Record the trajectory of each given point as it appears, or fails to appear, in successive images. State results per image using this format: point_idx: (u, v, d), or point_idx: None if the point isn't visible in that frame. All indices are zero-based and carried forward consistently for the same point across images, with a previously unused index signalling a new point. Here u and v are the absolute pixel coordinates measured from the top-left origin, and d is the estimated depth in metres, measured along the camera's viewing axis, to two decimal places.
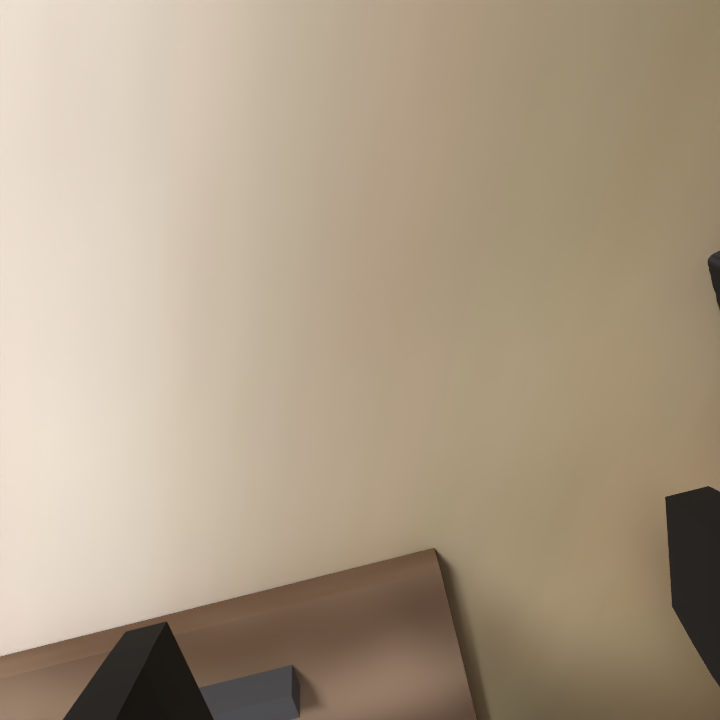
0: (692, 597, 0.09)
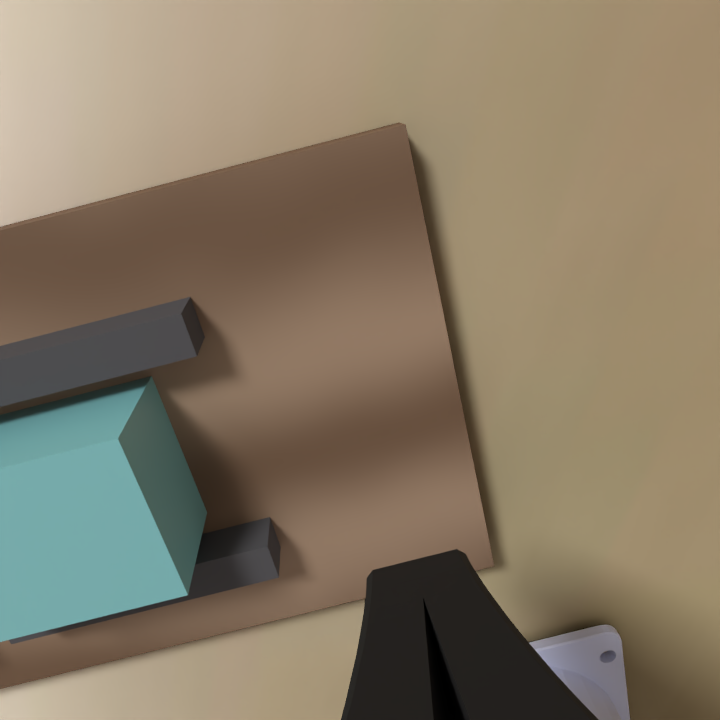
0: None
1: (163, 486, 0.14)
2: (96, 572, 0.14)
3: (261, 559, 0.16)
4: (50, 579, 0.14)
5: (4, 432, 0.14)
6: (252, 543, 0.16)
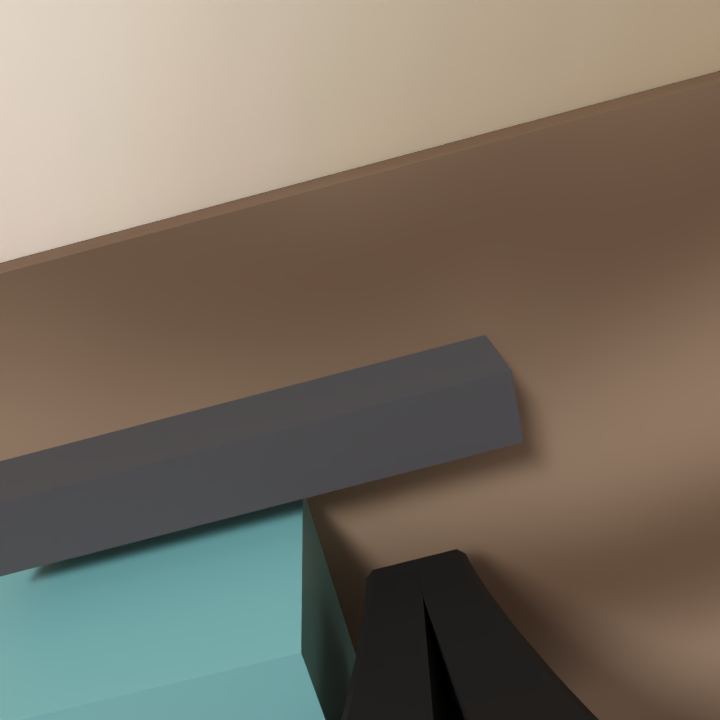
0: None
1: (339, 690, 0.08)
2: None
3: None
4: None
5: (70, 596, 0.08)
6: None
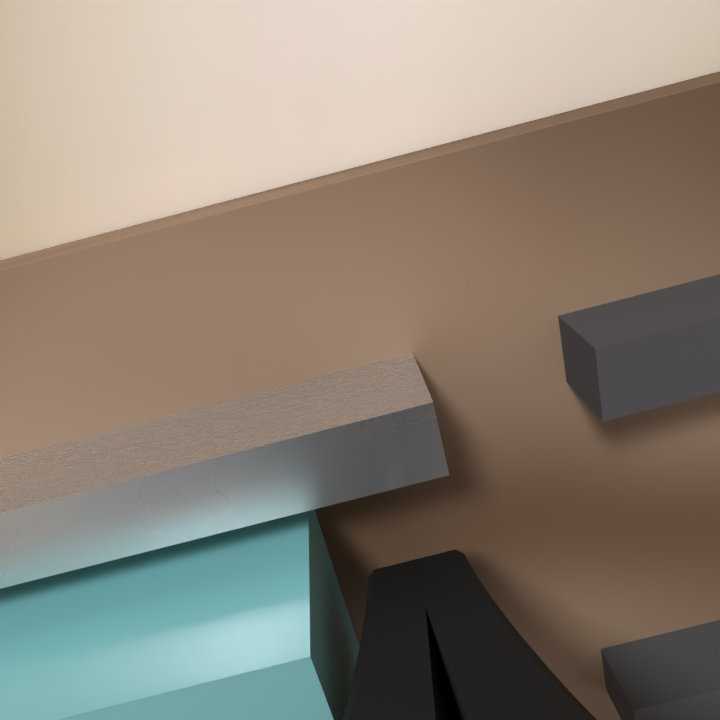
0: None
1: (348, 692, 0.08)
2: None
3: None
4: None
5: (77, 600, 0.08)
6: None
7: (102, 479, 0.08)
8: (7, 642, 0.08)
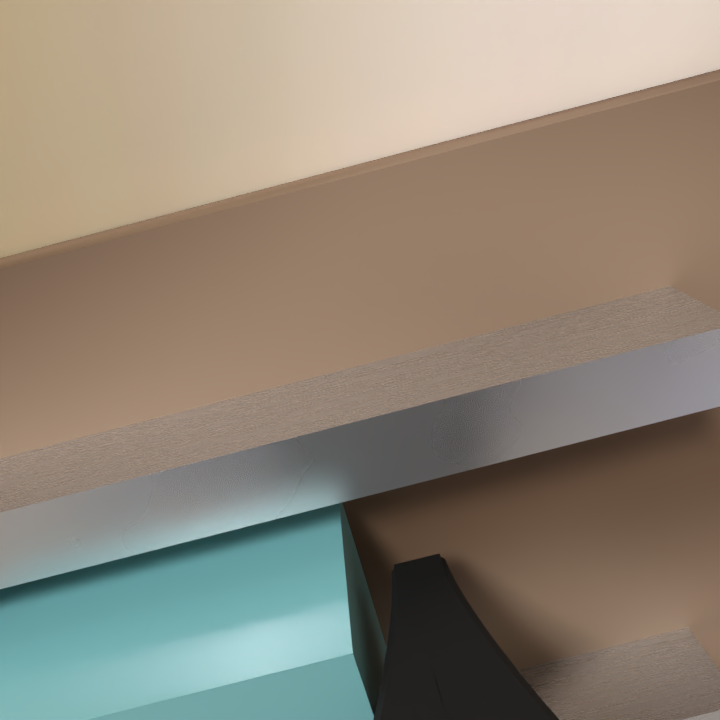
0: None
1: None
2: None
3: None
4: None
5: (110, 598, 0.08)
6: None
7: (394, 403, 0.07)
8: (42, 640, 0.08)
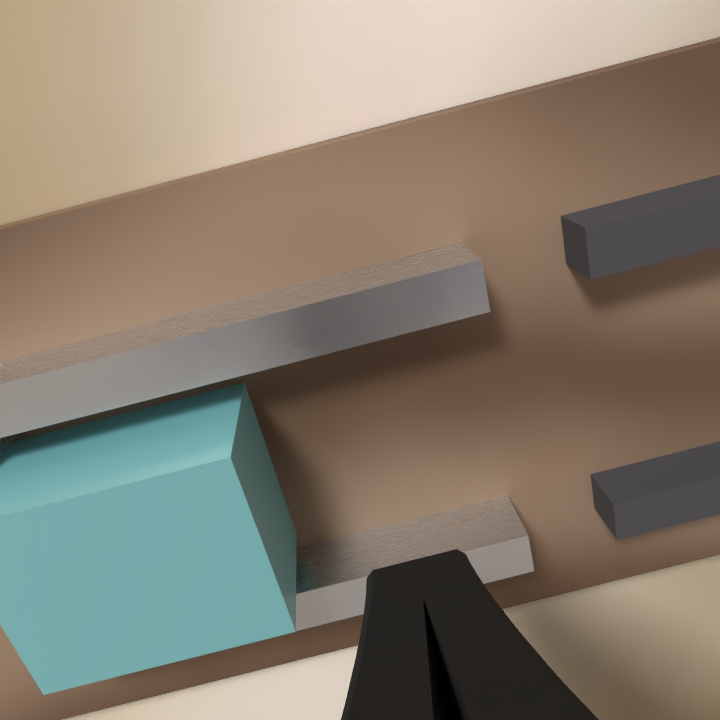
0: None
1: (266, 509, 0.13)
2: (195, 607, 0.12)
3: None
4: (143, 615, 0.12)
5: (85, 448, 0.12)
6: None
7: (265, 312, 0.12)
8: (40, 469, 0.12)
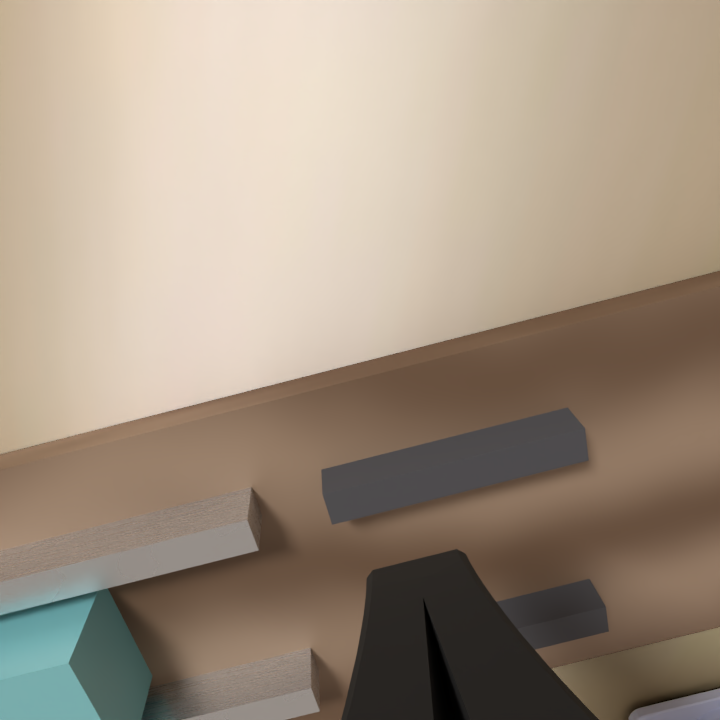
0: None
1: (110, 679, 0.18)
2: None
3: (598, 616, 0.19)
4: None
5: None
6: (589, 603, 0.19)
7: (101, 553, 0.17)
8: None
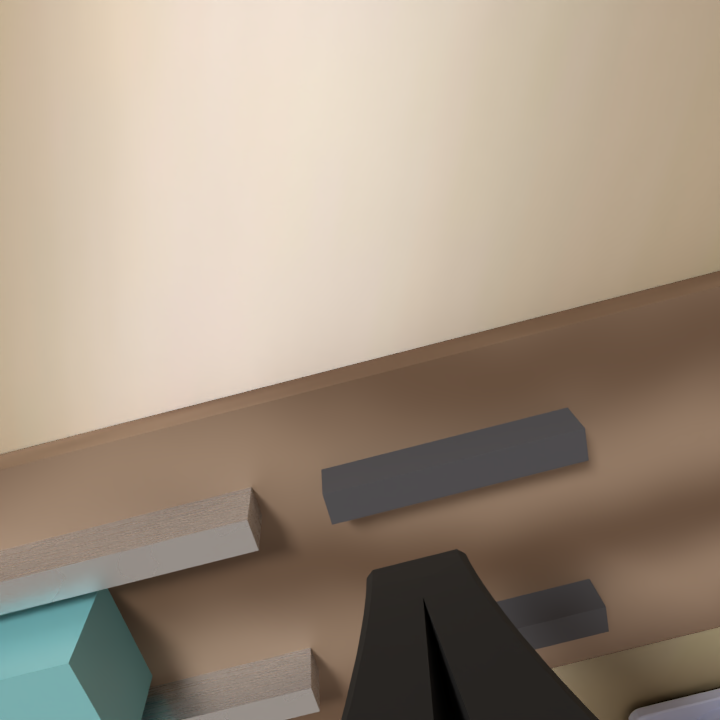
0: None
1: (110, 679, 0.18)
2: None
3: (598, 616, 0.19)
4: None
5: None
6: (589, 603, 0.19)
7: (101, 553, 0.17)
8: None
